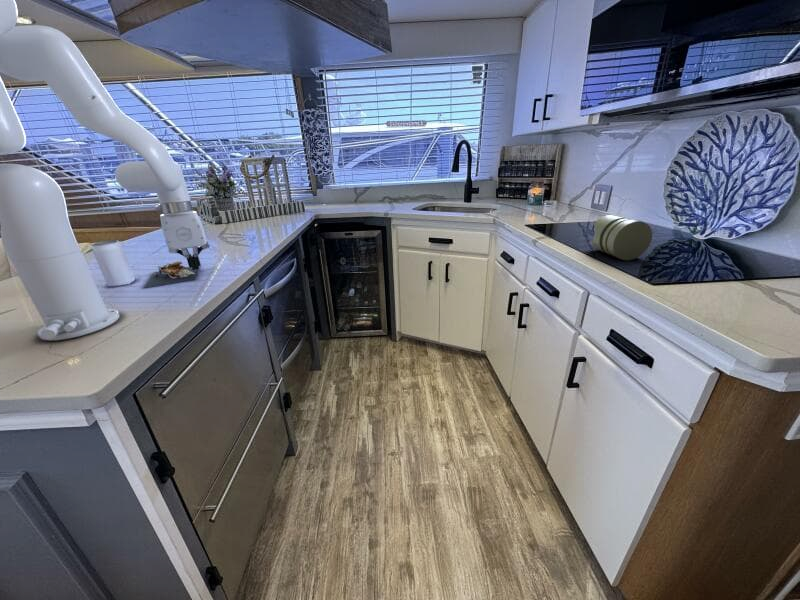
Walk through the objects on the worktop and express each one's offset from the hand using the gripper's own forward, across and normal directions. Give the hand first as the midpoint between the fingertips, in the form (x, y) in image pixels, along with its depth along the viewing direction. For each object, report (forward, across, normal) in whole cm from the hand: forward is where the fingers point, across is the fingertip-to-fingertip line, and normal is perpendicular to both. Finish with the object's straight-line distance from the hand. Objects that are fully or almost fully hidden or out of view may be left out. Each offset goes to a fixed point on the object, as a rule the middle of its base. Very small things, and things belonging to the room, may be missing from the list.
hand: (195, 268), depth 100 cm
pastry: (+1, -5, +1) cm, 5 cm away
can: (+1, -19, +1) cm, 19 cm away
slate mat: (+1, -6, 0) cm, 6 cm away
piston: (+1, +117, -58) cm, 131 cm away
